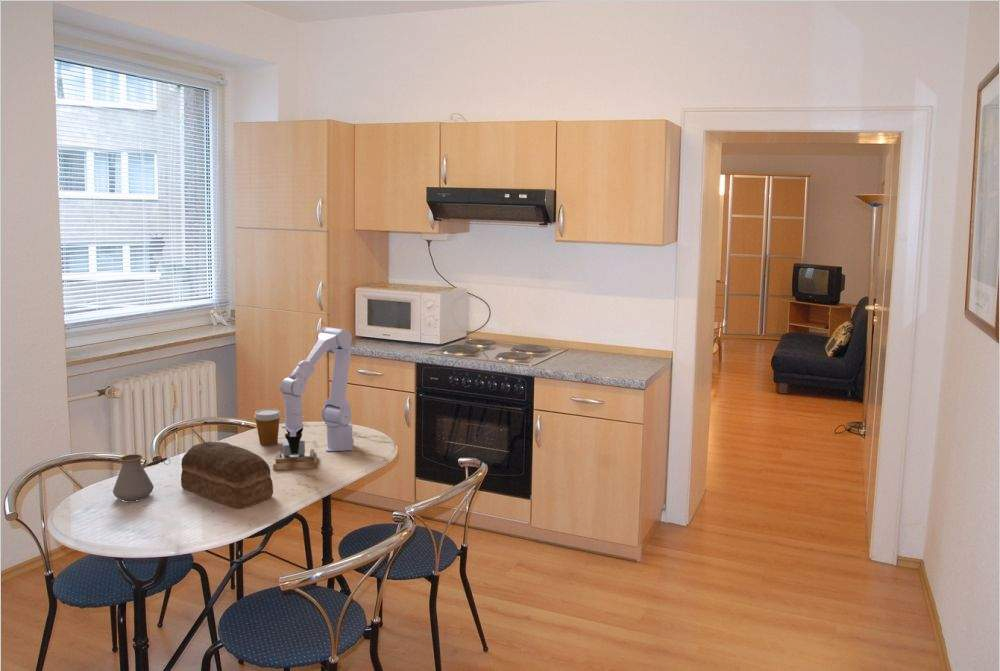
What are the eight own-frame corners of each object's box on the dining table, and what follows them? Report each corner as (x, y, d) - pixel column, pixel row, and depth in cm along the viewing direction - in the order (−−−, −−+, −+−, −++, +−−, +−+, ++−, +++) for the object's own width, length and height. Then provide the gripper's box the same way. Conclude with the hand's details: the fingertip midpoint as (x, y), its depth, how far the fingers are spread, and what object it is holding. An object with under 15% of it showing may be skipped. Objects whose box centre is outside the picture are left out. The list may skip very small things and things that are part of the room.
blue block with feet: (305, 454, 296) (304, 440, 295) (304, 459, 292) (304, 444, 291) (284, 456, 295) (283, 441, 294) (283, 460, 291) (282, 445, 290)
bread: (216, 476, 281) (213, 429, 279) (279, 498, 263) (276, 448, 260) (176, 489, 270) (172, 440, 267) (239, 512, 251) (236, 460, 248)
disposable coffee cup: (278, 447, 311) (276, 415, 309) (252, 447, 311) (250, 415, 309) (285, 439, 321) (283, 408, 318) (259, 439, 321) (258, 408, 319)
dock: (316, 457, 300) (316, 447, 300) (315, 467, 290) (315, 457, 289) (275, 459, 298) (275, 449, 297) (273, 470, 287) (272, 460, 286)
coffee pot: (105, 500, 260) (101, 453, 257) (135, 488, 270) (132, 443, 267) (156, 513, 250) (152, 464, 248) (186, 499, 261) (182, 452, 258)
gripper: (282, 407, 297) (284, 445, 299) (279, 418, 283) (281, 458, 285) (303, 406, 298) (305, 444, 301) (301, 418, 284) (303, 457, 287)
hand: (295, 451), depth 293 cm, fingers closed on blue block with feet, 5 cm apart
